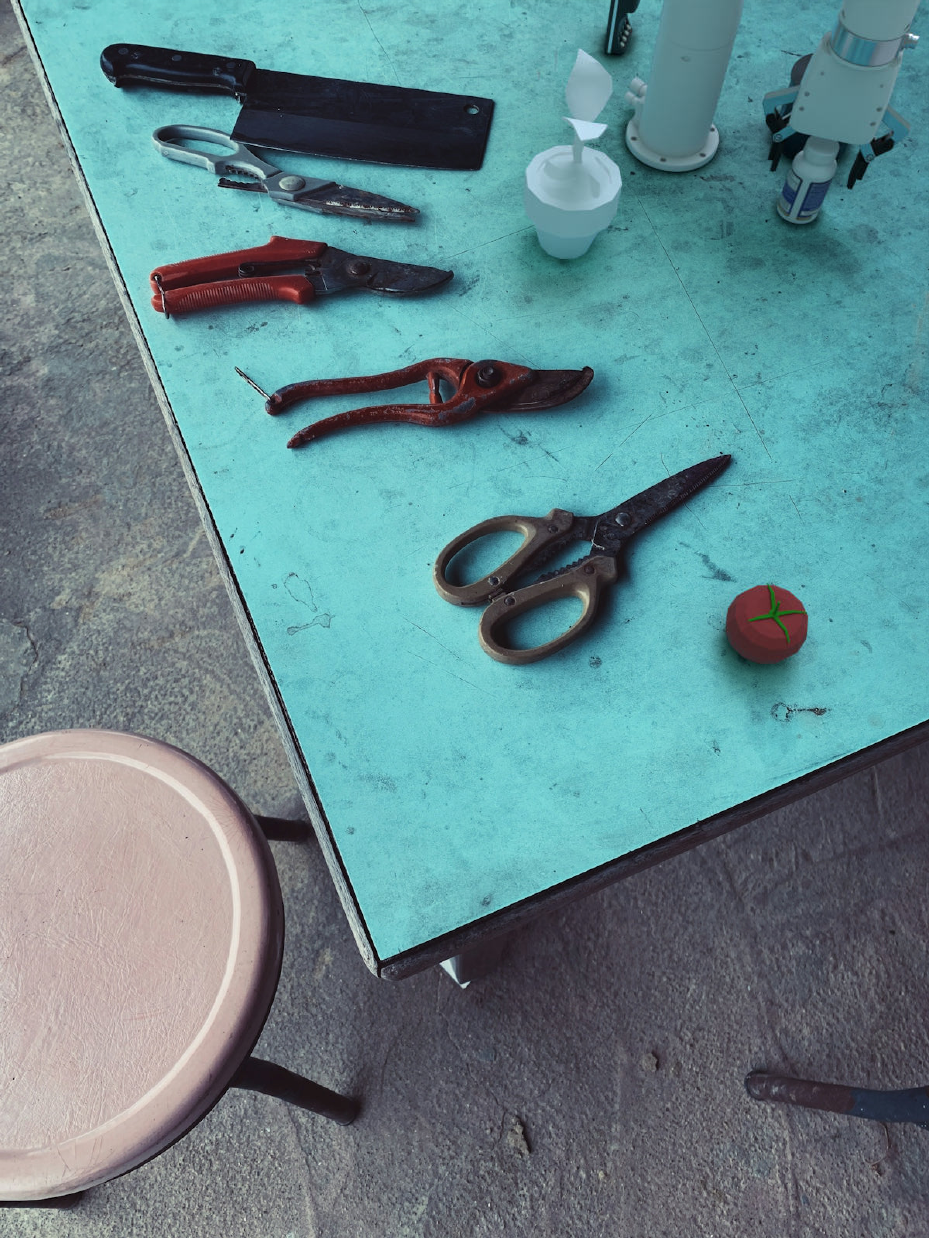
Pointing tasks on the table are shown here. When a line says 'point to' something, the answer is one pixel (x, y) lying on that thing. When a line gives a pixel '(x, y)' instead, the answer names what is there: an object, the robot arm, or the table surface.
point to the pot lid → (799, 69)
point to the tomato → (766, 624)
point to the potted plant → (575, 171)
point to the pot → (800, 137)
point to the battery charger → (619, 25)
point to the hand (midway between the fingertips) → (812, 173)
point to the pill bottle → (808, 180)
